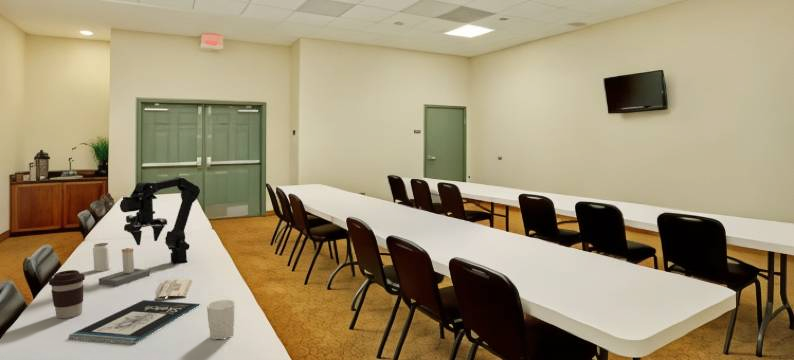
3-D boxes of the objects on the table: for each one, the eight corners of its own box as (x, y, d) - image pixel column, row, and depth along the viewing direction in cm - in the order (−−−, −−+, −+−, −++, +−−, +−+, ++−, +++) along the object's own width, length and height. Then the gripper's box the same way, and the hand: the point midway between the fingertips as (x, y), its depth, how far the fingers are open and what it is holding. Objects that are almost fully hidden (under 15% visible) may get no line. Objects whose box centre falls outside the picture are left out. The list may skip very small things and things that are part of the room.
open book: (160, 285, 189) (160, 279, 189) (191, 285, 193) (192, 279, 193) (149, 303, 167) (149, 296, 167) (185, 302, 171) (185, 296, 171)
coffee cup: (63, 310, 159) (60, 268, 158) (93, 309, 160) (90, 268, 159) (44, 321, 150) (41, 277, 148) (75, 320, 150) (72, 276, 149)
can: (102, 271, 205) (101, 246, 204) (90, 271, 207) (89, 245, 206) (114, 268, 212) (112, 243, 211) (102, 267, 213) (101, 242, 212)
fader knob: (128, 270, 198) (127, 248, 197) (134, 271, 196) (133, 248, 196) (122, 272, 195) (121, 249, 194) (128, 273, 194) (127, 250, 193)
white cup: (225, 328, 144) (224, 298, 143) (240, 334, 139) (239, 303, 139) (203, 337, 137) (201, 305, 137) (218, 343, 133) (216, 311, 132)
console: (132, 273, 203) (132, 267, 203) (149, 275, 200) (149, 270, 200) (99, 284, 188) (98, 278, 188) (116, 286, 185) (116, 280, 185)
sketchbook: (199, 307, 164) (199, 301, 164) (133, 348, 132) (133, 340, 132) (143, 303, 168) (143, 297, 167) (66, 341, 136) (65, 334, 136)
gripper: (149, 206, 216) (150, 237, 217) (114, 211, 199) (115, 246, 200) (167, 207, 213) (168, 239, 214) (132, 212, 195) (134, 248, 196)
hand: (147, 243), depth 206 cm, fingers open, 9 cm apart
